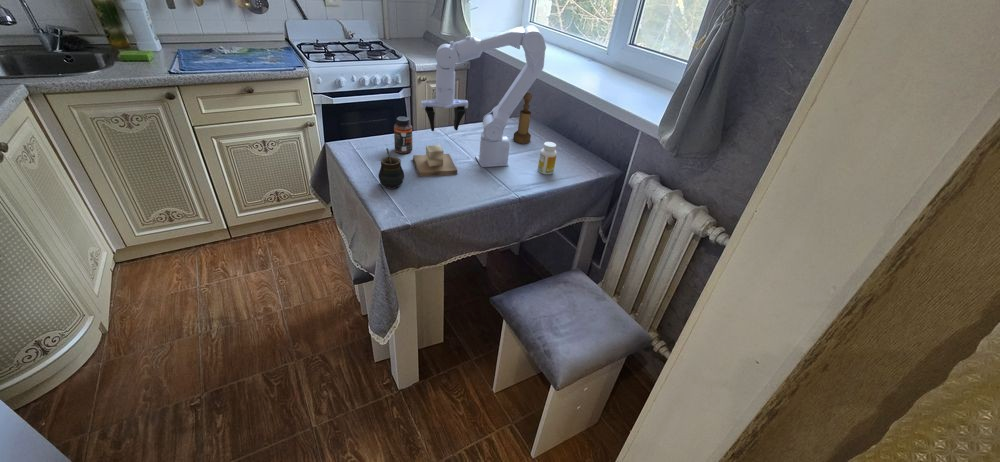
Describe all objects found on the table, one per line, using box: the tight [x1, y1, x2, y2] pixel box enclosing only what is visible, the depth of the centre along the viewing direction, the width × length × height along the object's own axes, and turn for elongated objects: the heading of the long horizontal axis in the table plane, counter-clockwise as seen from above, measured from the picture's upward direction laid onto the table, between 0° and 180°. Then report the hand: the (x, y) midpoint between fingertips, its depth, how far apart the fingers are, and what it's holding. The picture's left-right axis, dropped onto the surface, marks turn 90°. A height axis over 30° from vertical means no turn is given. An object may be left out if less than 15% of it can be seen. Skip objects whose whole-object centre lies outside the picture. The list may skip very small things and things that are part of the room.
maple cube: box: [425, 144, 444, 166], centre depth 137 cm, size 4×4×5 cm
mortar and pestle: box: [512, 92, 533, 145], centre depth 159 cm, size 7×6×18 cm
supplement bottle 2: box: [537, 141, 558, 175], centre depth 142 cm, size 5×5×10 cm
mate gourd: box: [378, 148, 405, 189], centre depth 125 cm, size 7×8×10 cm
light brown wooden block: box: [412, 153, 458, 177], centre depth 139 cm, size 12×12×2 cm
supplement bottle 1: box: [393, 116, 413, 155], centre depth 144 cm, size 6×6×11 cm
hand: (444, 129), depth 139 cm, fingers open, 7 cm apart
